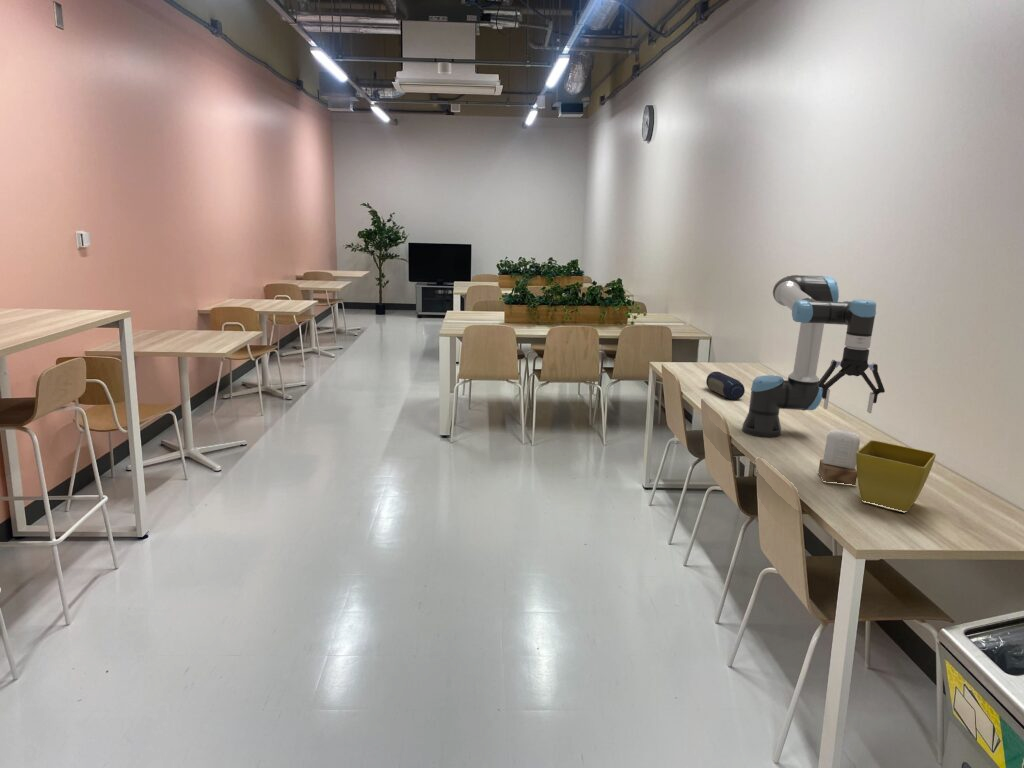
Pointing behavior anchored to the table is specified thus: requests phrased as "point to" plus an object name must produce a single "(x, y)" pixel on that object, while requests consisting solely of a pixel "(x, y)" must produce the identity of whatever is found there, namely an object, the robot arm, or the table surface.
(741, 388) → the portable speaker
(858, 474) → the flower pot
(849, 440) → the photo printer
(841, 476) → the walnut block
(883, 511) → the table surface
